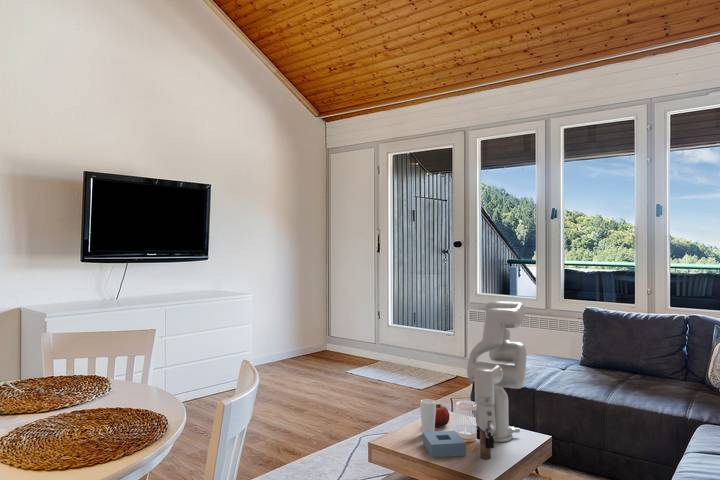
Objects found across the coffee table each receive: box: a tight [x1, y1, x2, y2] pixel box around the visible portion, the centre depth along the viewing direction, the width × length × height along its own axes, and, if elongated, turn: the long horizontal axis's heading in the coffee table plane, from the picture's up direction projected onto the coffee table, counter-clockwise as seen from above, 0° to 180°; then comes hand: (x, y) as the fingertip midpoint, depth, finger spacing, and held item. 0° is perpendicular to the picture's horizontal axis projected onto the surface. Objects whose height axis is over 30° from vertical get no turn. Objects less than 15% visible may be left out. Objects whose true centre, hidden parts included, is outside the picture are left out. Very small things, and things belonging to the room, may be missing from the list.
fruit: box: [435, 403, 450, 427], centre depth 243 cm, size 11×10×10 cm
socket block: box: [422, 430, 467, 458], centre depth 215 cm, size 14×14×5 cm
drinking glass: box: [419, 398, 437, 435], centre depth 232 cm, size 7×7×15 cm
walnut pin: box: [479, 428, 492, 460], centre depth 207 cm, size 4×4×12 cm
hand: (485, 443), depth 207 cm, fingers open, 9 cm apart
